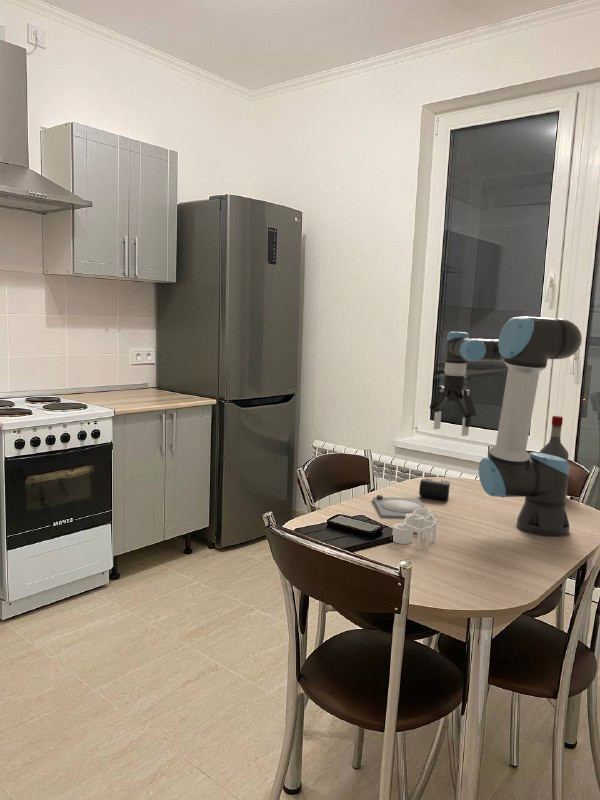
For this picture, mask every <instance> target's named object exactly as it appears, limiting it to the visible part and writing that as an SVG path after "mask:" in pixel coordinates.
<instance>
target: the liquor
mask: <svg viewBox="0 0 600 800" xmlns="http://www.w3.org/2000/svg"><path fill="white" fill-rule="evenodd" d="M563 418H564V417H563V416H560V415H552V418H551V431H550V439H549V441H548V443H547V444H545V445H544V446H543V447H542V448H541V449H540V451H539V452H538V453H544V454H549V455H553V456H557V457H560V458H563V459H565V460H566V461H567V462H568V463H569V452H568V450H567V449H566V447H565V446H564V445H563V444H562V441H561V435H562V434H561V433H562V426H563V421H564V419H563Z"/></svg>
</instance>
